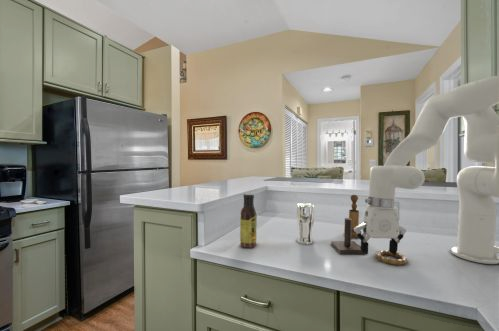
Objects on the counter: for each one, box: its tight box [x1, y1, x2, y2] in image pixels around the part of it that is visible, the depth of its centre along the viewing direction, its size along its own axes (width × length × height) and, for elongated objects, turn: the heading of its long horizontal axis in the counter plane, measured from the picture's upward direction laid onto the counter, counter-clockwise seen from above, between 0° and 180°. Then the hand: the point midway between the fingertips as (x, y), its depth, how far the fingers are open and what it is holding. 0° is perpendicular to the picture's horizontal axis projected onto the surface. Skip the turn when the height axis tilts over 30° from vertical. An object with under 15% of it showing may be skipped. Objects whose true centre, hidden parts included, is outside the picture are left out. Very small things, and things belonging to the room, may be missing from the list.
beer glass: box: [296, 203, 315, 245], centre depth 99 cm, size 7×7×15 cm
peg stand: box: [330, 217, 365, 255], centre depth 92 cm, size 9×9×12 cm
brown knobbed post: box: [348, 194, 362, 239], centre depth 107 cm, size 7×6×18 cm
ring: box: [375, 249, 408, 266], centre depth 83 cm, size 9×9×2 cm
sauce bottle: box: [239, 193, 258, 249], centre depth 94 cm, size 6×6×20 cm
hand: (378, 252), depth 83 cm, fingers open, 9 cm apart
